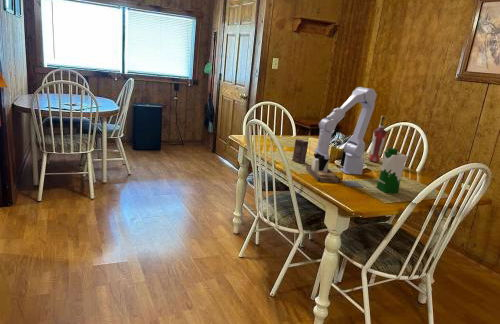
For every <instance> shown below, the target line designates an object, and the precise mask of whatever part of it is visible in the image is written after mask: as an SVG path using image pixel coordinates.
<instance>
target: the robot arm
mask: <svg viewBox="0 0 500 324" xmlns="http://www.w3.org/2000/svg"><path fill="white" fill-rule="evenodd" d="M376 99H377V92H376V91H375V89H373V88H367V87H364V86H363V87H362V86H358V87H356V88H355V89H354V90H353V91H352V93H351V95H350V96H349V97H348V99H346V101H345V102H343V104H342V105H341V106H340V107H336V108H333V110H332V112H330V113H329V115H327V116H326V117H325V118H322V119H321V120H320V121H319V122H318V128H319V135H318V141H317V147H315V148H314V149H315V150H314V151H313V152H314V153H313V158H318V159H319V171H323V170H324V168H325V165H326V164H327V162H328V161H329V162H330V160H331V158H330V153H329V149H330V144H331V140H332V139H331V138H332V135H333V134H332V132H333V131H335V129H336V127H337V125H338V123H340V121H341V120H343V118H345V117H346V112H348V111H349V110H350V109H351V108H353V106H355V105H356V104H357V103H360V105H361V107H362V108H361V110H360V113H359V116H358V119H357V122H356V126H355V128H354V131H353V133H352V136H350V137H349V138H348V139H347V141H346V143H345V144H344V146H343V151H344V153H345V157H344V163H343V168H342V167H341V168H339V170H340V171H342V172H343V173H344V174H346V175H363V169H364V165H365V159H364V156H363V155H364V154H365V150H366V149H365V148H366V142H365V141H364V137H365V134H366V132H367V130H368V129H367V128H368V127H369V123H370V120H371V118H372V114H373V111H374V109H375V107H376V106H375V105H376Z"/></svg>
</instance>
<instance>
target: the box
mask: <svg viewBox="0 0 500 324" xmlns="http://www.w3.org/2000/svg"><path fill="white" fill-rule="evenodd" d="M308 145H309V141H307V140H304V139H299V138H298V139H295V141H294V149H293V152H292V153H293V154H292V162H293V161H294V162H296V163H299V164H304V163H305V162H306V157H307V152H308Z"/></svg>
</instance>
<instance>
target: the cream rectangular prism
mask: <svg viewBox="0 0 500 324" xmlns="http://www.w3.org/2000/svg"><path fill="white" fill-rule="evenodd" d="M329 163H330V160H329V161H328V162H327V164H326V165H325V168H324V170H323V171H319V159H318V158H315V157H312V163H311V166H312V168H311V169H312V170H313V171H314V172H315V173H316V174H317V172H326V173H327V170H328V169H329Z"/></svg>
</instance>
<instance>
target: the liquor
mask: <svg viewBox="0 0 500 324" xmlns="http://www.w3.org/2000/svg"><path fill="white" fill-rule="evenodd" d="M386 118H387V116H386V115H381V116H380V121H379V125H378V128H375V129H373V134H372V138H371V139H372V141H371V146H370V153H369V157H368V160H369V162H372V163H379V162H380V161H381V159H380V158H381V154H382V150H383V147H384V144H385V139H386V136H387V130H385V129H384V128H385V121H386Z"/></svg>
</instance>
